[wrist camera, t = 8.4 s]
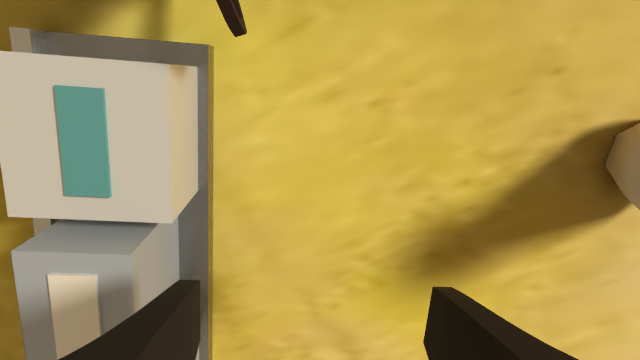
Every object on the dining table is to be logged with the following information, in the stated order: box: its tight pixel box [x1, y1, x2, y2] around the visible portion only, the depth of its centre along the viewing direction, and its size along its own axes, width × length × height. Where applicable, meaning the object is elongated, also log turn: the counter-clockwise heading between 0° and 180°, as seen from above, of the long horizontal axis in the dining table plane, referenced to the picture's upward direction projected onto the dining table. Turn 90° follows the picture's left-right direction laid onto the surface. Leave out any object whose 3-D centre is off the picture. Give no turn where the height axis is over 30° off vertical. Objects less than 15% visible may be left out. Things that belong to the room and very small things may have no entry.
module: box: [0, 51, 198, 224], centre depth 16 cm, size 6×6×5 cm
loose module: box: [11, 217, 179, 360], centre depth 17 cm, size 6×4×6 cm, turn 176°
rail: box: [9, 27, 213, 360], centre depth 20 cm, size 22×8×2 cm, turn 176°
